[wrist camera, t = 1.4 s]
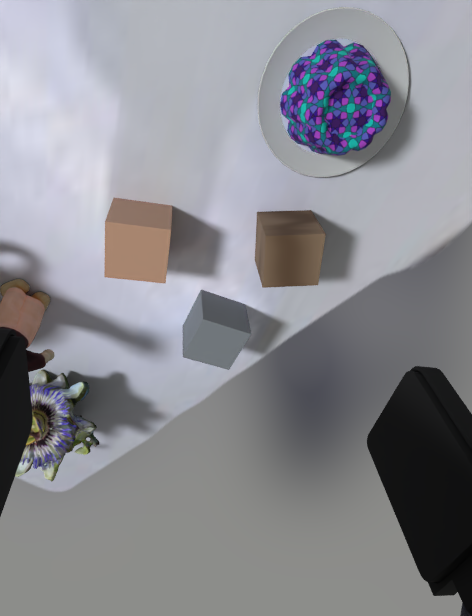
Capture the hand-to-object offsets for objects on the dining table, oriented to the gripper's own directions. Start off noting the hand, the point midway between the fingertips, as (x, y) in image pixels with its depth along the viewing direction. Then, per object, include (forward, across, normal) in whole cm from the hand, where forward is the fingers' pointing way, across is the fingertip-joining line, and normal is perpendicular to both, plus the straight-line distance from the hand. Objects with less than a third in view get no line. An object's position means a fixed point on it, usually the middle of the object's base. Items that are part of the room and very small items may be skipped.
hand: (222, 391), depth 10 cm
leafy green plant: (+28, +11, +33) cm, 45 cm away
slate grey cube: (+28, -5, +18) cm, 34 cm away
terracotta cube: (+28, +4, +10) cm, 30 cm away
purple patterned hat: (+29, -10, -4) cm, 31 cm away
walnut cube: (+28, -10, +8) cm, 31 cm away
